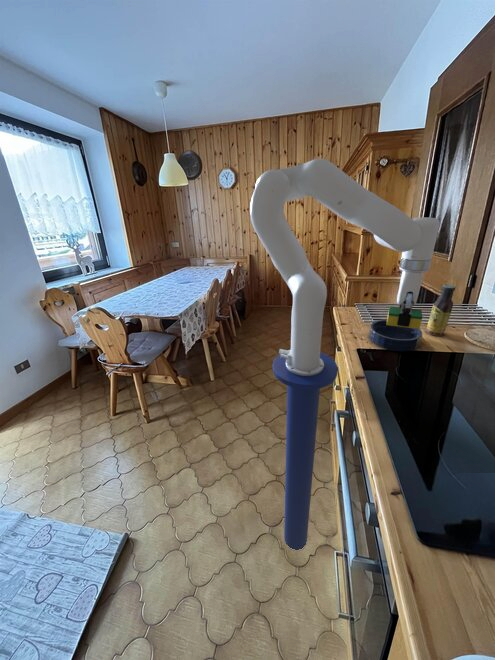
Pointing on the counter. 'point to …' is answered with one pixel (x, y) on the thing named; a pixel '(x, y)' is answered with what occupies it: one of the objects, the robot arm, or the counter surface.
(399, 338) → the bowl
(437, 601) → the counter surface
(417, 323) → the sponge
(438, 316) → the sauce bottle
